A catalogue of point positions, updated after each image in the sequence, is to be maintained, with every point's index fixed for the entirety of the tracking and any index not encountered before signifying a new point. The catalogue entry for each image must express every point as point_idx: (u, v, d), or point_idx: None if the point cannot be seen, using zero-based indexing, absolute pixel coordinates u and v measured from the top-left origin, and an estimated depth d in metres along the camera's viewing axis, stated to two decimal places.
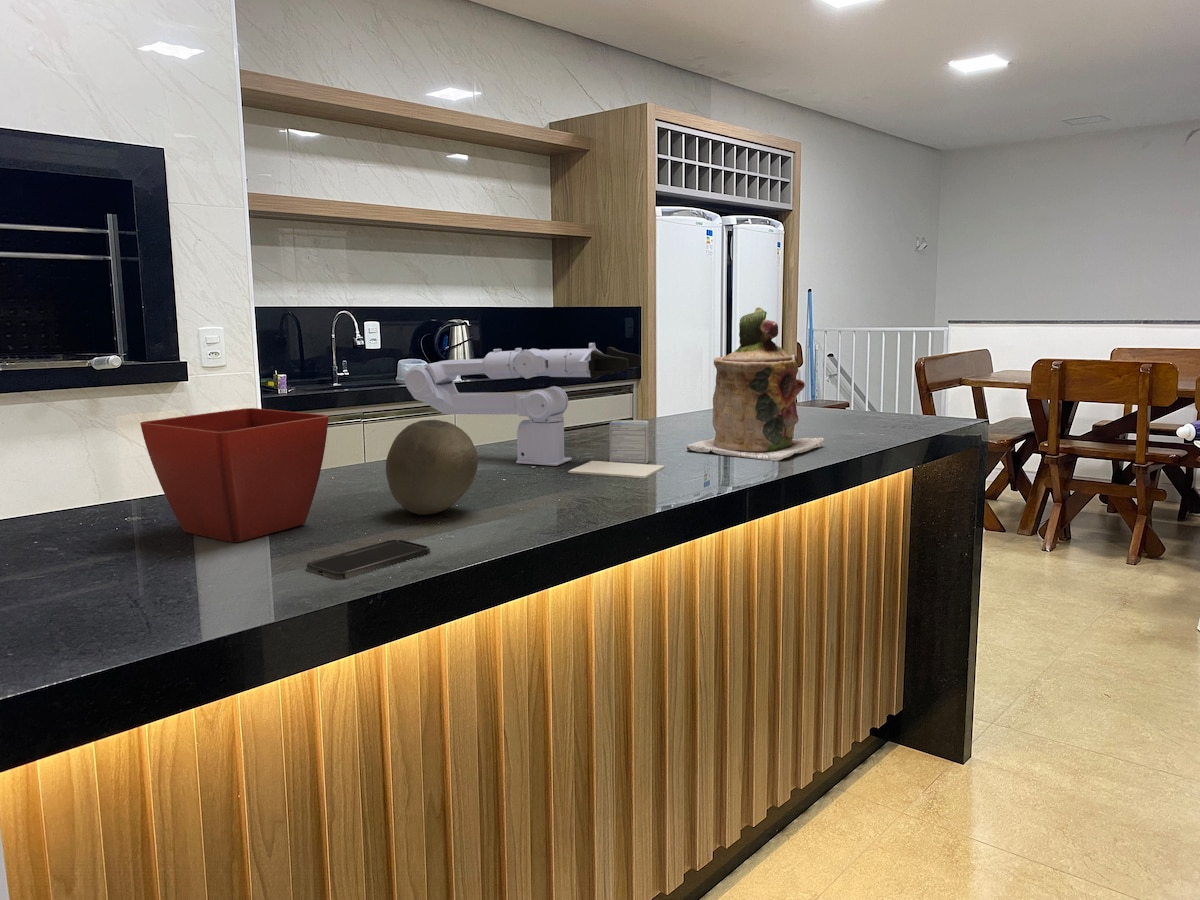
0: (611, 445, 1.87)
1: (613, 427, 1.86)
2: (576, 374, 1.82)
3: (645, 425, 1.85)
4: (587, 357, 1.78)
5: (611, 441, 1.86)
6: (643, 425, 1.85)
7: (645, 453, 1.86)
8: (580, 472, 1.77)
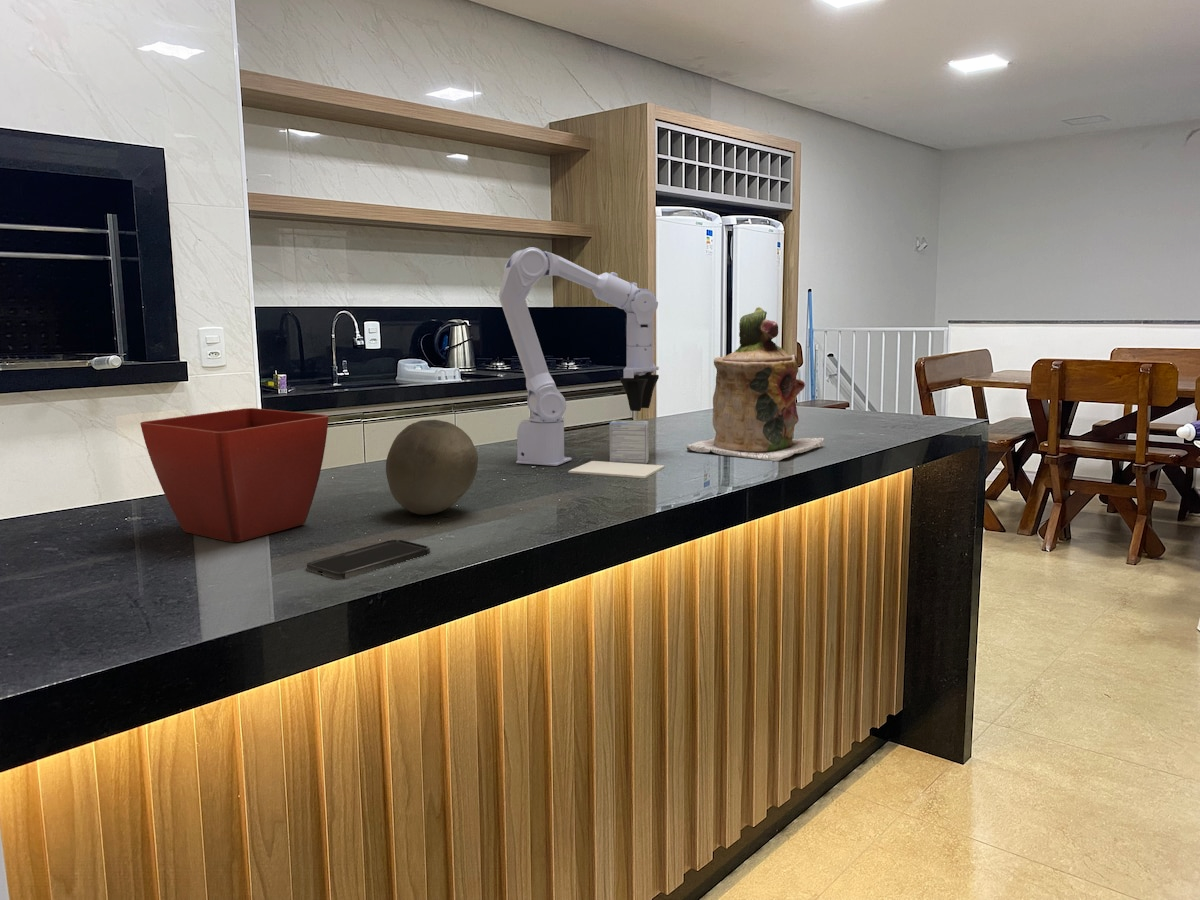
0: (611, 445, 1.87)
1: (613, 427, 1.86)
2: (627, 354, 1.90)
3: (645, 425, 1.85)
4: (639, 371, 1.88)
5: (611, 441, 1.86)
6: (643, 425, 1.85)
7: (645, 453, 1.86)
8: (580, 472, 1.77)
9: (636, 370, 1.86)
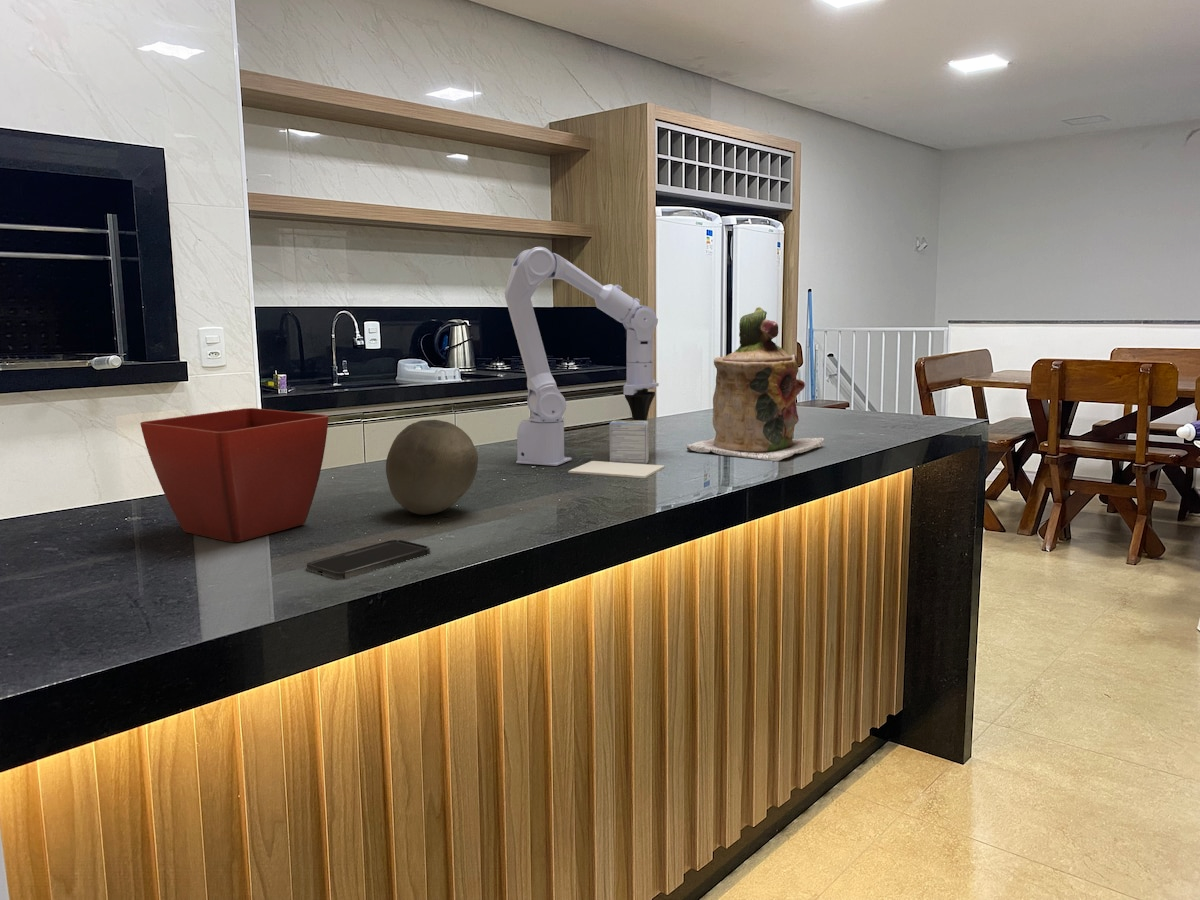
0: (611, 445, 1.87)
1: (613, 427, 1.86)
2: (627, 371, 1.91)
3: (645, 425, 1.85)
4: (639, 388, 1.88)
5: (611, 441, 1.86)
6: (643, 425, 1.85)
7: (645, 453, 1.86)
8: (580, 472, 1.77)
9: (636, 387, 1.87)
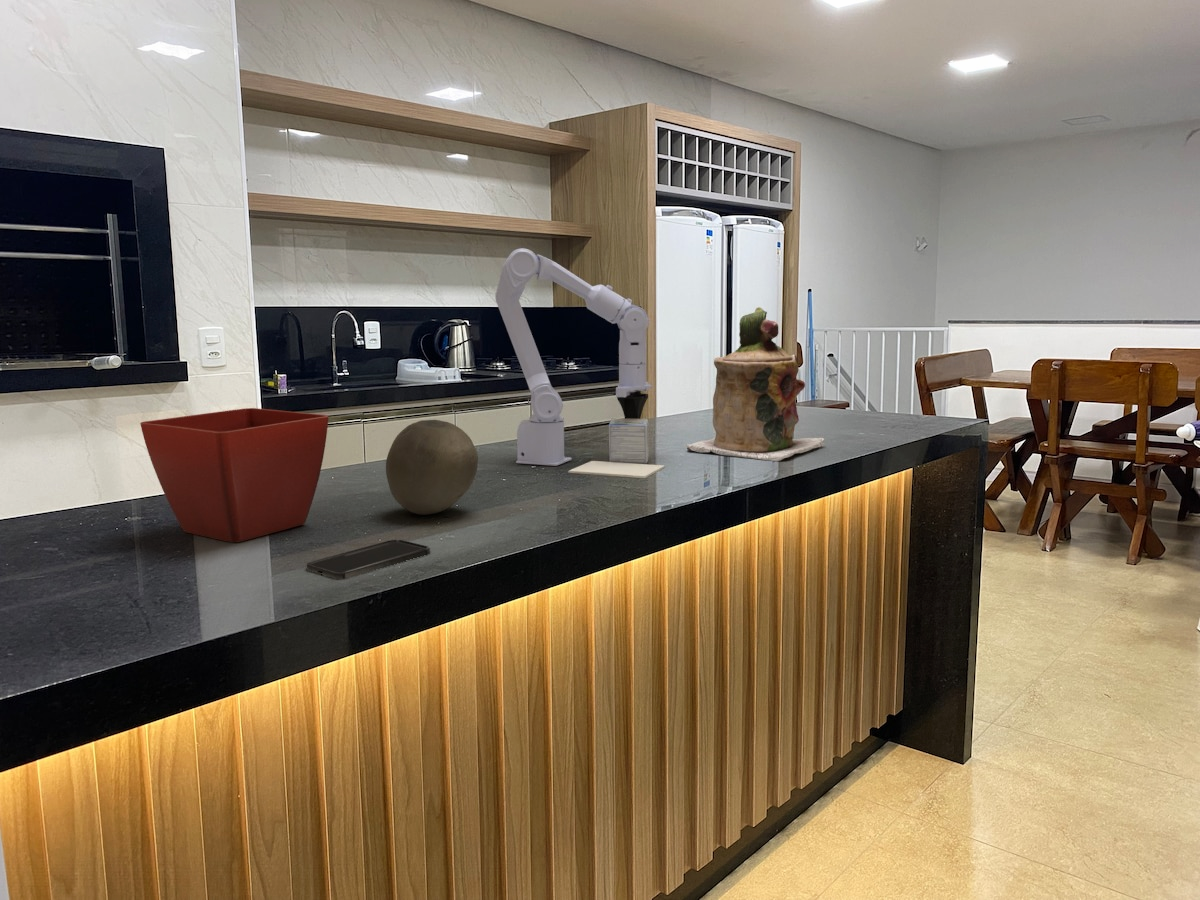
0: (611, 446, 1.86)
1: (612, 428, 1.85)
2: (619, 372, 1.87)
3: (645, 426, 1.84)
4: None
5: (611, 442, 1.86)
6: (642, 426, 1.84)
7: (645, 453, 1.85)
8: (580, 472, 1.77)
9: (629, 389, 1.83)
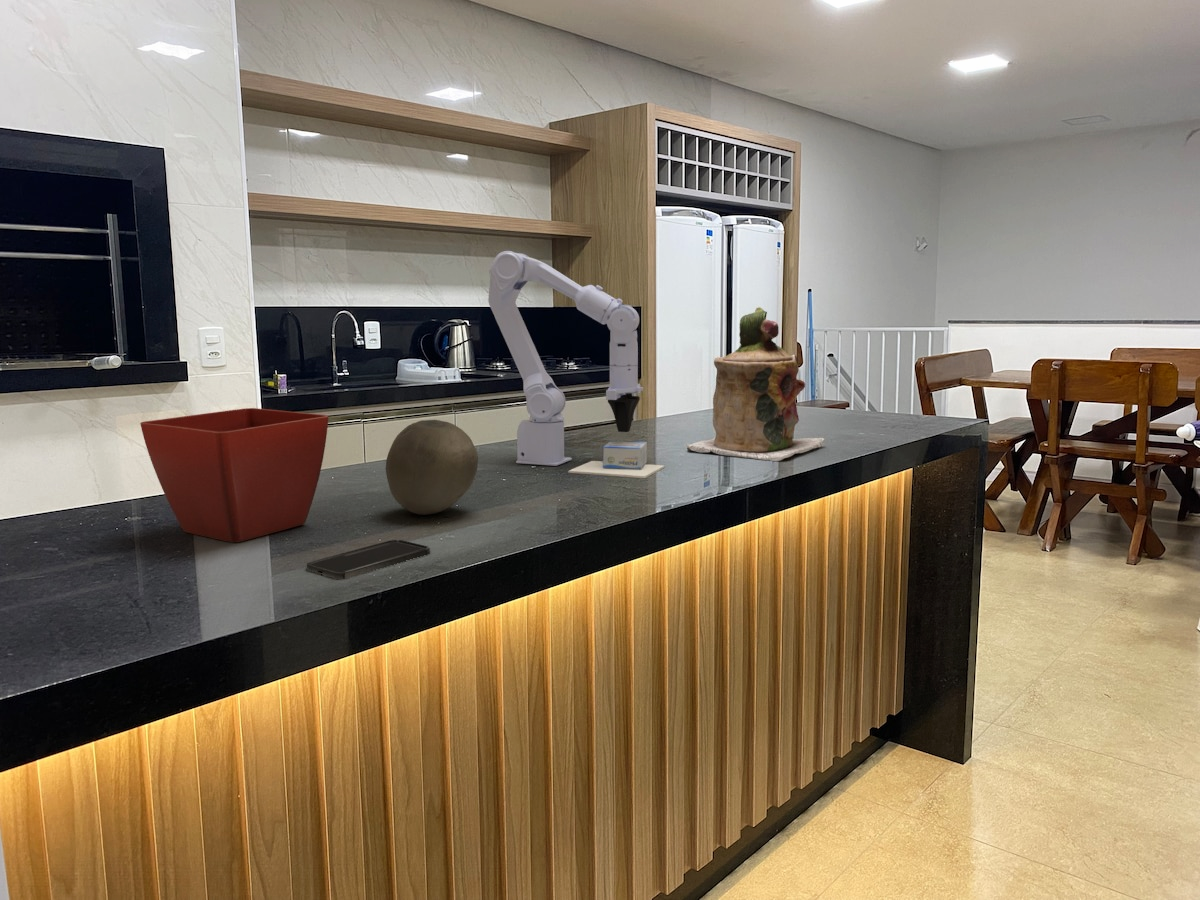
0: None
1: (607, 467, 1.80)
2: (610, 374, 1.82)
3: None
4: (623, 392, 1.80)
5: None
6: (638, 468, 1.78)
7: (644, 464, 1.84)
8: (580, 472, 1.77)
9: (619, 391, 1.78)
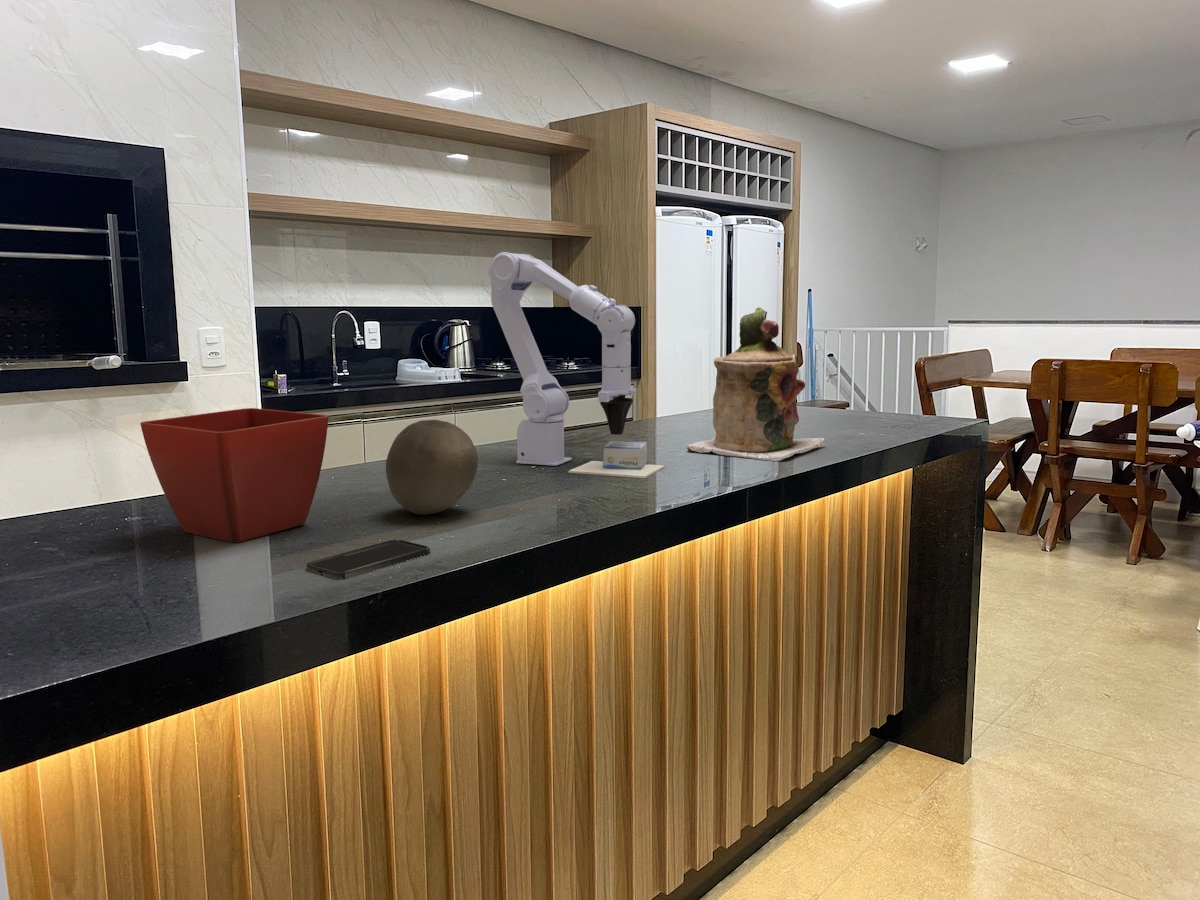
0: None
1: (607, 467, 1.80)
2: (602, 376, 1.79)
3: None
4: (615, 394, 1.76)
5: None
6: (638, 468, 1.78)
7: (644, 464, 1.84)
8: (580, 472, 1.77)
9: (612, 393, 1.74)
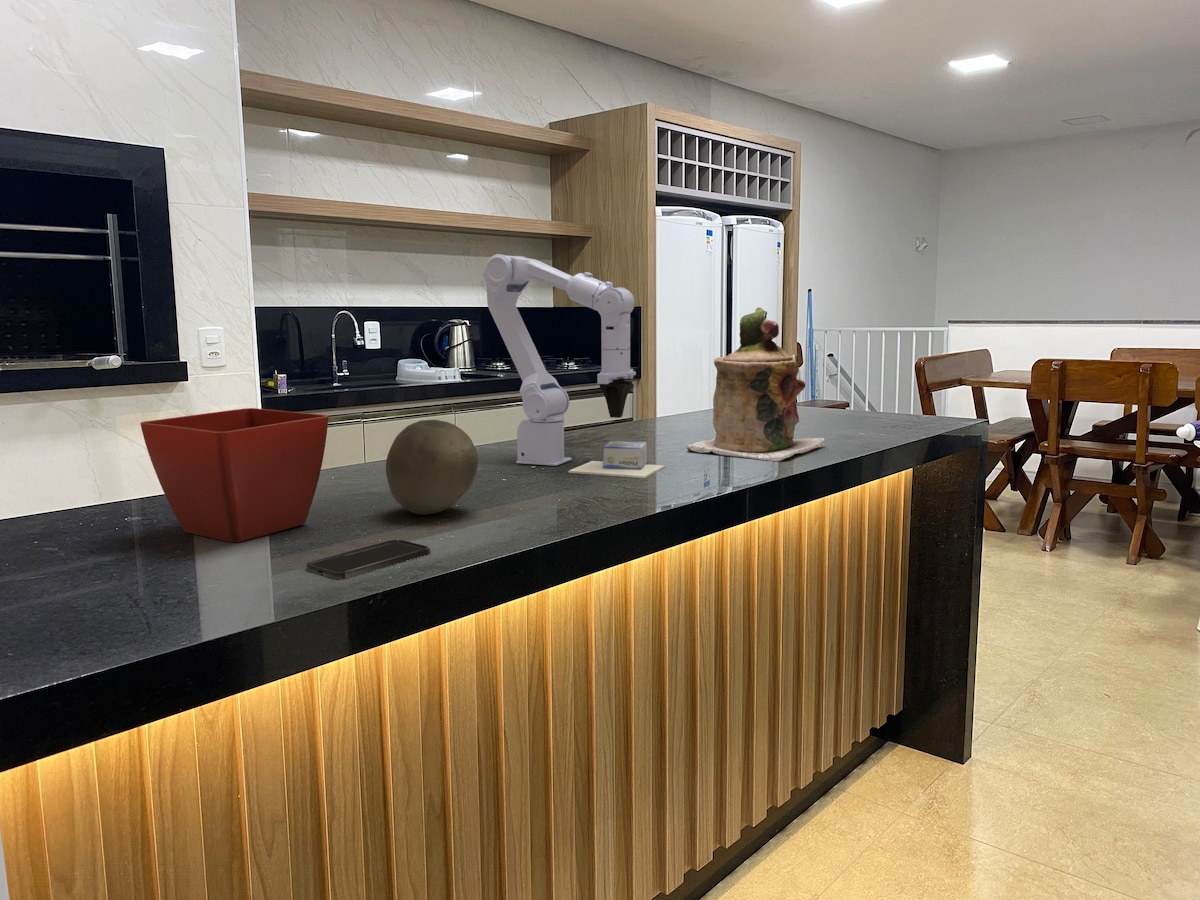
0: None
1: (607, 467, 1.80)
2: (602, 358, 1.78)
3: None
4: (615, 377, 1.75)
5: None
6: (638, 468, 1.78)
7: (644, 464, 1.84)
8: (580, 472, 1.77)
9: (611, 375, 1.74)
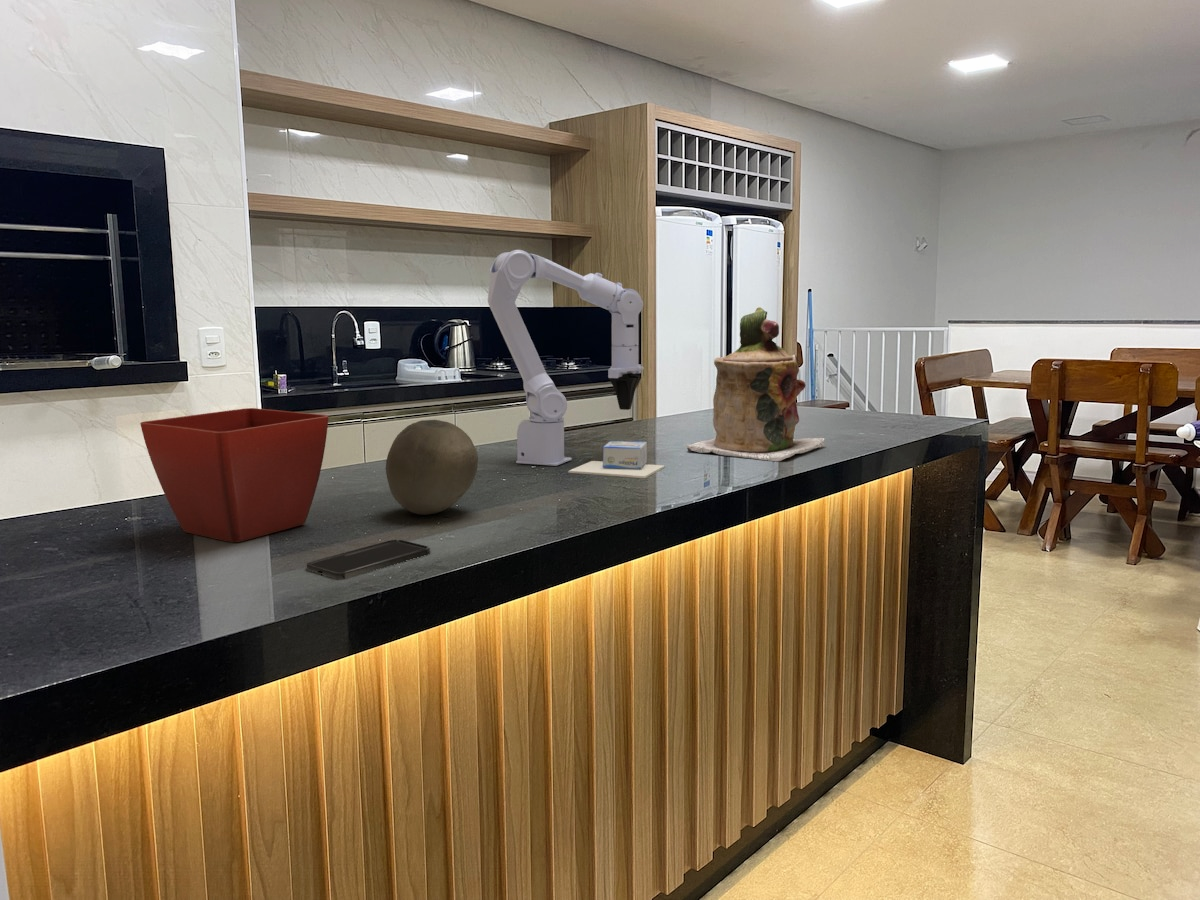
0: None
1: (607, 467, 1.80)
2: (612, 354, 1.91)
3: None
4: (624, 371, 1.88)
5: None
6: (638, 468, 1.78)
7: (644, 464, 1.84)
8: (580, 472, 1.77)
9: (621, 370, 1.87)
